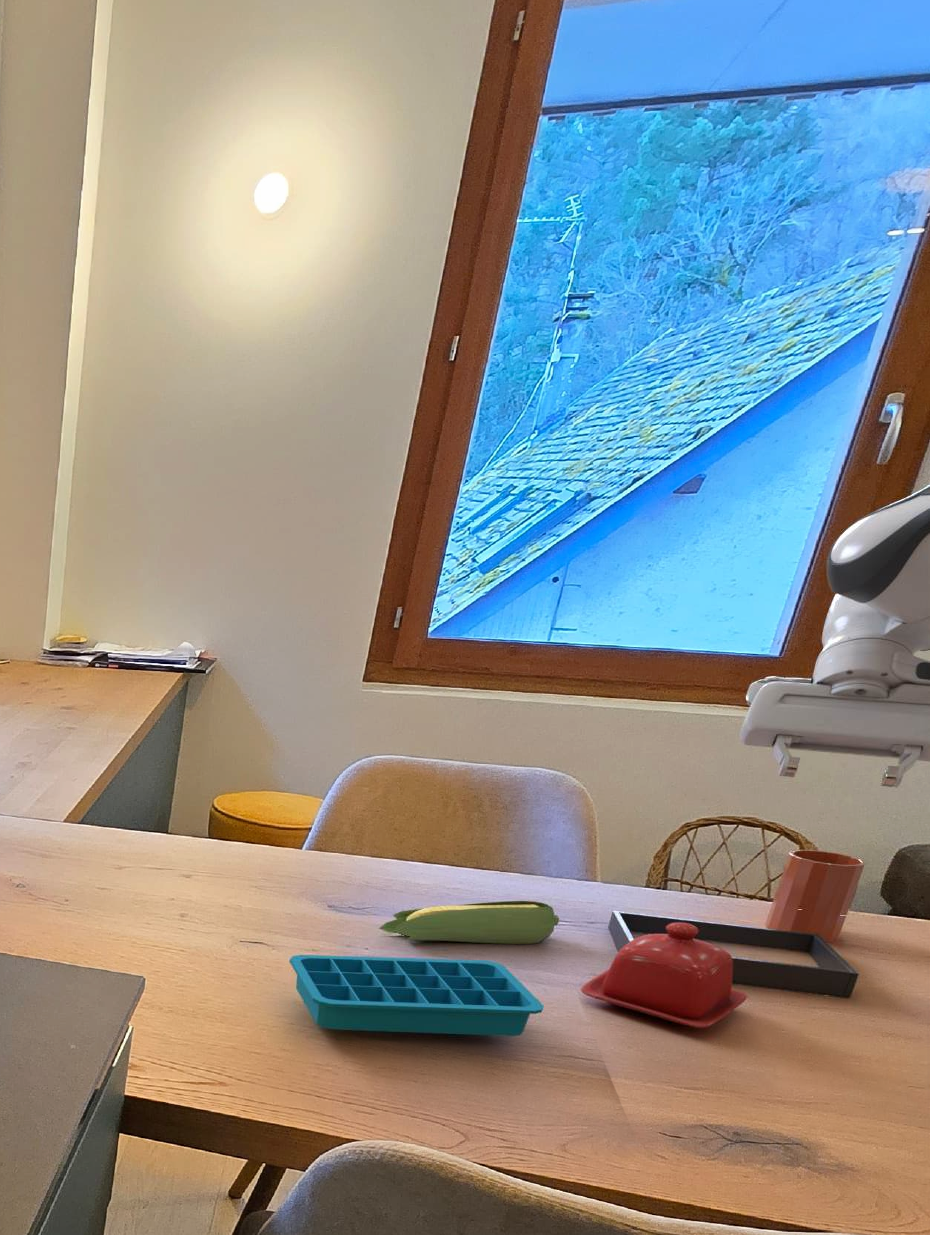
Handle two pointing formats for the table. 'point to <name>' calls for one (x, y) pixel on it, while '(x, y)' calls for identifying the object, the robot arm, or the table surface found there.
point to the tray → (822, 980)
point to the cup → (815, 893)
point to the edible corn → (478, 922)
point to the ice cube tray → (413, 995)
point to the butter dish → (670, 978)
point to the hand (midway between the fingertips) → (838, 778)
